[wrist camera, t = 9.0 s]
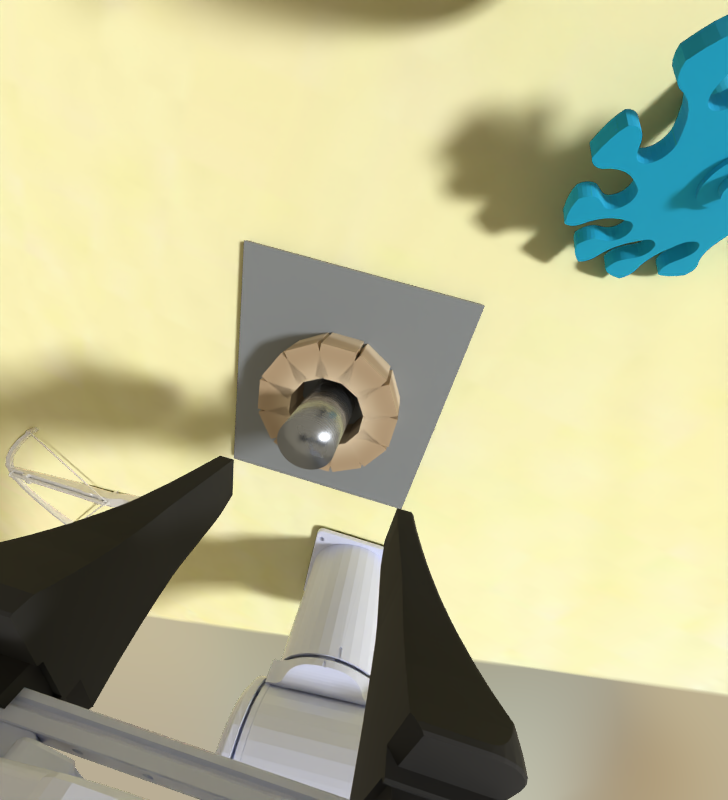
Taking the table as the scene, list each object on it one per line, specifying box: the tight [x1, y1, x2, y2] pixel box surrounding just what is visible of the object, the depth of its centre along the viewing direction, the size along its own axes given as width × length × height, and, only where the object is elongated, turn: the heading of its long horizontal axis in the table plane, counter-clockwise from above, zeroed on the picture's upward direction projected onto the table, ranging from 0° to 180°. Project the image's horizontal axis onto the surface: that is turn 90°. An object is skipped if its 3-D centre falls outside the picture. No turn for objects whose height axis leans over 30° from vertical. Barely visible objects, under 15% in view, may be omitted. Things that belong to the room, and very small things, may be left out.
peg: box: [277, 378, 358, 470], centre depth 18 cm, size 3×3×6 cm
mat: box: [234, 241, 484, 509], centre depth 21 cm, size 16×14×1 cm
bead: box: [258, 332, 400, 472], centre depth 19 cm, size 8×8×2 cm
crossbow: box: [5, 427, 139, 525], centre depth 30 cm, size 16×13×2 cm
